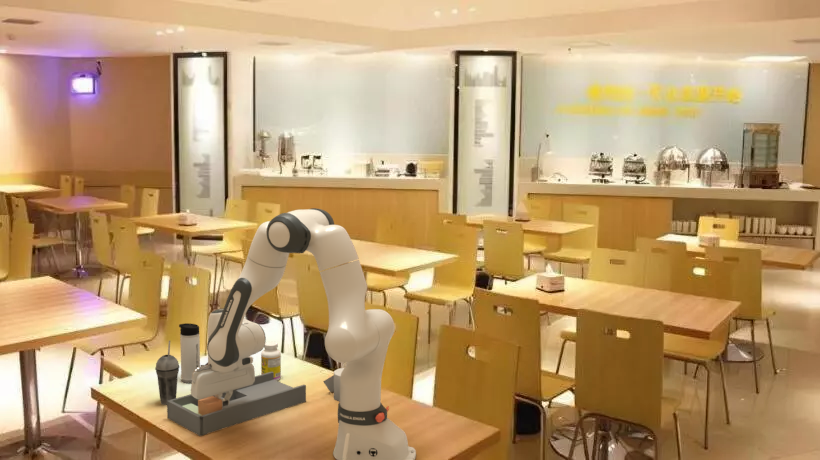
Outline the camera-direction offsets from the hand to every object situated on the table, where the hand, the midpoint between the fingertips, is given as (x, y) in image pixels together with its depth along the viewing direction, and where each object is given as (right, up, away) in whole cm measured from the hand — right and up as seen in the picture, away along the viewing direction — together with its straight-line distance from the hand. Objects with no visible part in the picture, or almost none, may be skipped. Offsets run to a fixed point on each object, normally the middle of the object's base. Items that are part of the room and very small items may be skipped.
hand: (223, 405), depth 230 cm
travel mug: (-19, +1, +33) cm, 38 cm away
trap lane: (+3, -3, +8) cm, 9 cm away
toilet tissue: (+34, -2, +21) cm, 41 cm away
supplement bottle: (+8, +1, +36) cm, 37 cm away
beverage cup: (-21, -2, +12) cm, 24 cm away
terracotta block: (-3, -2, -3) cm, 5 cm away
